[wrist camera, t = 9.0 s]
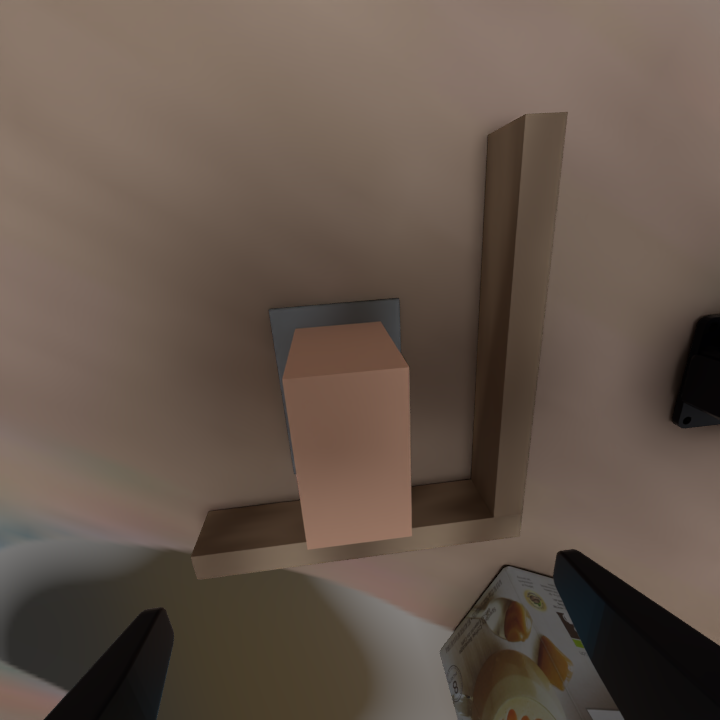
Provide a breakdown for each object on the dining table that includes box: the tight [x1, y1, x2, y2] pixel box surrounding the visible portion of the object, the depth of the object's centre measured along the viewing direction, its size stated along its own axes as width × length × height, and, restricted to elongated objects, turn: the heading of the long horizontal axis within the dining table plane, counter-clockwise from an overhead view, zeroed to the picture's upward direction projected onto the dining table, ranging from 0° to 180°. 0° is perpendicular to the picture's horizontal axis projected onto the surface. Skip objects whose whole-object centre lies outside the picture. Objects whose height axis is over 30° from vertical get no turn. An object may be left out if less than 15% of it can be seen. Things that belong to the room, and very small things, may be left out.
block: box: [282, 321, 412, 550], centre depth 15 cm, size 7×4×6 cm, turn 4°
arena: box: [191, 112, 568, 580], centre depth 17 cm, size 16×19×3 cm
